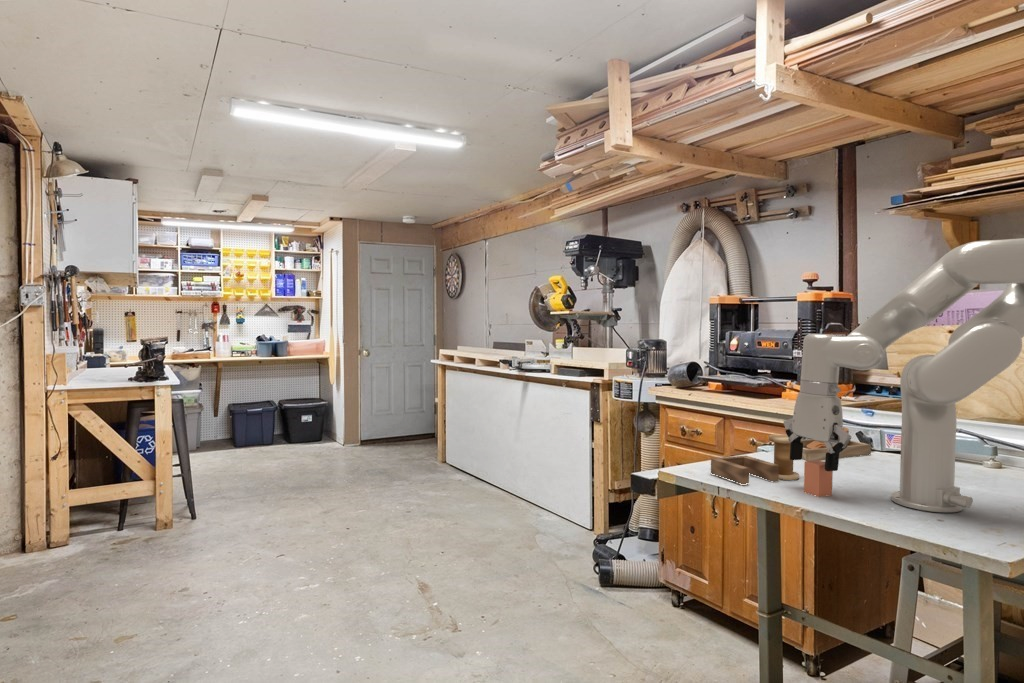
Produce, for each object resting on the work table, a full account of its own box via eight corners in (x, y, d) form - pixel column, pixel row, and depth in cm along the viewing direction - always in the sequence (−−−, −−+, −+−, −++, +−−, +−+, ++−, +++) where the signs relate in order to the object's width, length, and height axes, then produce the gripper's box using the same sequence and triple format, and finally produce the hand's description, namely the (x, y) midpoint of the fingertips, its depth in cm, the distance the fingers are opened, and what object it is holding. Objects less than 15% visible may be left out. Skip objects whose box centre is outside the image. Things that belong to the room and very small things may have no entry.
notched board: (778, 481, 147) (778, 465, 147) (742, 485, 143) (742, 468, 143) (745, 470, 157) (745, 455, 157) (710, 474, 153) (711, 458, 153)
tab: (832, 495, 136) (832, 463, 135) (818, 497, 134) (819, 465, 134) (817, 490, 139) (817, 460, 139) (803, 492, 138) (804, 461, 138)
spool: (805, 479, 149) (806, 438, 149) (783, 481, 147) (784, 440, 146) (783, 472, 156) (784, 433, 156) (761, 474, 153) (762, 435, 153)
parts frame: (870, 455, 177) (870, 444, 177) (809, 461, 169) (809, 450, 169) (834, 446, 189) (834, 437, 189) (775, 452, 180) (775, 442, 180)
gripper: (865, 394, 130) (859, 474, 130) (800, 384, 146) (795, 455, 146) (839, 395, 127) (833, 476, 128) (775, 384, 143) (770, 456, 144)
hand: (812, 464), depth 137 cm, fingers open, 9 cm apart
